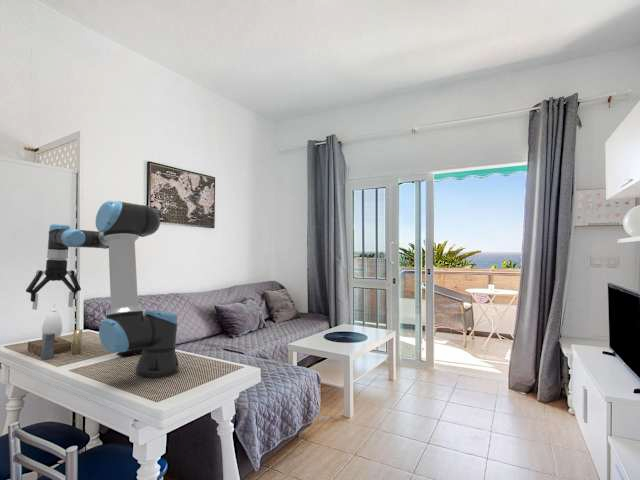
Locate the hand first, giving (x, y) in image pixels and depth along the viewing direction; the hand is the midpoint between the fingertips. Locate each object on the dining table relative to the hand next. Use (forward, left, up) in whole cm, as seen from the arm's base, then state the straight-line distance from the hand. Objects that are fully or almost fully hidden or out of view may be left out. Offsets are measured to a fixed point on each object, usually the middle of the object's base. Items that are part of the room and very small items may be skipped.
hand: (53, 308), depth 164 cm
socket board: (0, 0, -19) cm, 19 cm away
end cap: (-27, -21, -19) cm, 39 cm away
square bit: (-11, +5, -19) cm, 22 cm away
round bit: (-11, -6, -19) cm, 23 cm away
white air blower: (+17, -7, -19) cm, 26 cm away
